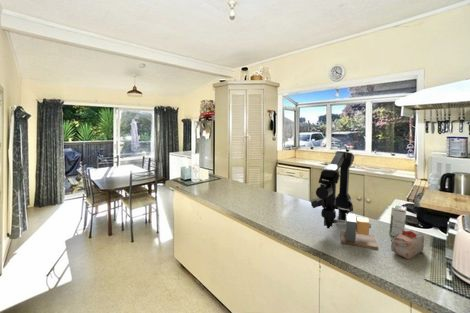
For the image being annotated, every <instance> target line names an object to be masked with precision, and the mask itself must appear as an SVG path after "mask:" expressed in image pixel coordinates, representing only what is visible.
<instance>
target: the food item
mask: <svg viewBox="0 0 470 313" xmlns="http://www.w3.org/2000/svg"><path fill="white" fill-rule="evenodd" d="M402 232H403V233H402V234H401V235H399V234H398V235H399V236H398V235H396V236H393V238H392V240H391V245H390V246H391V251H392V252H394V254H396V255H399V256H400V257H402V258H404V259H406V260H410V259H411V258H413V257H415V256H417V255H418V254H420V253H422V252H423V251H424V247H425V246H424V245H425V242H424V241H425V236H424V235H423V234H421V232H418V231H415V230H410V229H409V230H405V229H404V230H402Z"/></svg>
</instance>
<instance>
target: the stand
mask: <svg viewBox="0 0 470 313" xmlns="http://www.w3.org/2000/svg"><path fill="white" fill-rule="evenodd" d="M340 244H341V245H349V246H355V247H360V248H362V247H363V248H368V249H374V250H379V246H378V244H377V240H376V238H375V235H373V234H369V235H364V234H357V233H356V214H355V213H353V214H352V213H349V214H346V225H344V231H343V230H340Z"/></svg>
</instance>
